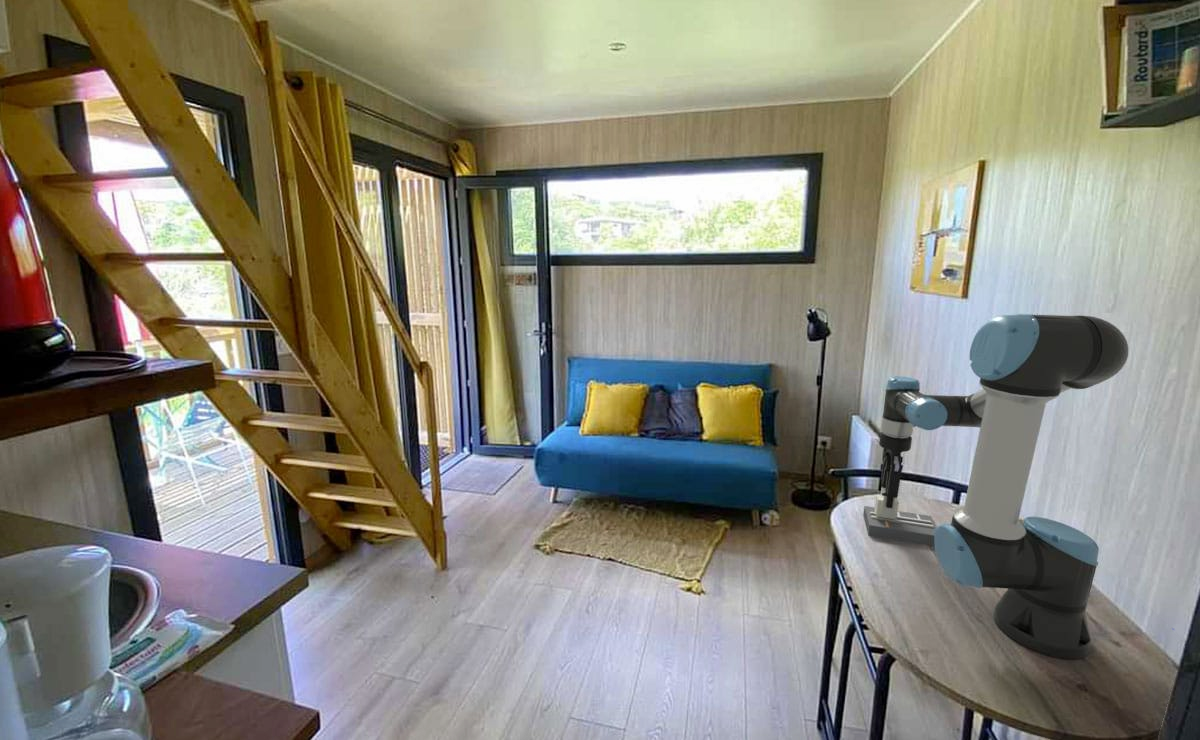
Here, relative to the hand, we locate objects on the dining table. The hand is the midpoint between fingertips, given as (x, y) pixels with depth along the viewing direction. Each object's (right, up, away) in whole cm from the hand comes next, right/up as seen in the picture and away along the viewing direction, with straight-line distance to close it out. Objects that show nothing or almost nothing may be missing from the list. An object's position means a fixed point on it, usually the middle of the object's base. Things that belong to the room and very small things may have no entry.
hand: (885, 513), depth 148 cm
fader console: (+4, -5, 0) cm, 6 cm away
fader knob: (0, -1, 0) cm, 1 cm away
